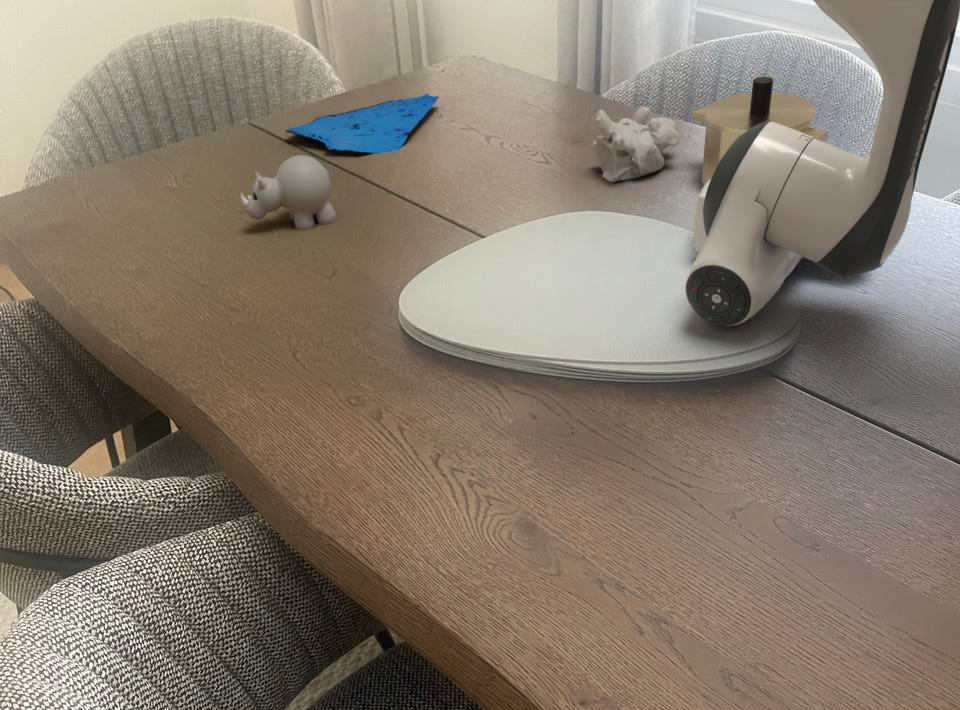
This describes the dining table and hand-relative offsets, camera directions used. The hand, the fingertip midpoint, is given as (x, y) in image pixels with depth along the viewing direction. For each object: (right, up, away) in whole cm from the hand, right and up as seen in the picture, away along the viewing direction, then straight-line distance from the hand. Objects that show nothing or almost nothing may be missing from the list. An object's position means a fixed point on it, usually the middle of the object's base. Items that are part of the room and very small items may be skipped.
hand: (809, 185), depth 113 cm
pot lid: (-4, +12, +7) cm, 15 cm away
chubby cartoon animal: (-64, +2, +17) cm, 66 cm away
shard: (-57, +27, +40) cm, 75 cm away
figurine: (-17, +10, +19) cm, 28 cm away
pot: (-3, +7, +14) cm, 15 cm away
